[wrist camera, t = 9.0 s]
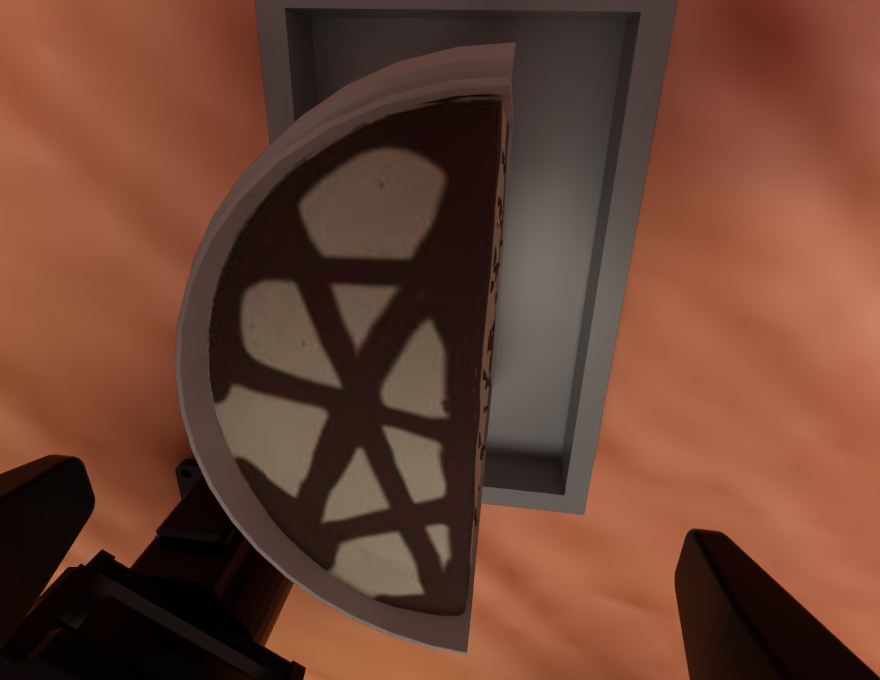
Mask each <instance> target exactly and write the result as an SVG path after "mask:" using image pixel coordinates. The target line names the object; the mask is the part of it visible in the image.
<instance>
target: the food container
mask: <svg viewBox="0 0 880 680" xmlns="http://www.w3.org/2000/svg"><path fill="white" fill-rule="evenodd" d="M515 46H516V42H512V43H500V44H487V45H475V46H463V47H455V48H451V49H447V50H443V51H439V52H435V53H431V54H427V55H423V56H419V57H415V58H411V59H407V60H403V61H399V62H397V63H395V64H392V65H390V66H388V67H386V68H383V69H381V70H379V71H377V72H375V73H372V74H370V75H368V76H366V77H363V78H361V79H359V80H357V81H355V82H352V83H350V84H348V85H346V86H344V87H343V88H342V89H340V90H339V91H337V92H336V93H334V94H333V95H331V96H330V97H328V98H327V99H325V100H324V101H323V102H321V103H320V104H318V105H317V106H315V107H314V108H312V109H311V110H309V111H308V112H306V113H305V114H304V115H302V116H301V117H300V118H299V119H298V120H297V121H296V122H295V123H293V124H292V125H291V126H290V127H289V128H288V129H287V130H286V131H285V132H284V133H283V134H282V135H281V136H280V137H279V138H278V139H277V140H276V141H275V142H274V143H273V144H272V145H271V146H270V147H269V148H268V149H267V150H266V151H265V152H264V153H263V154H262V155H261V156H260V157H259V158H258V159H257V160H256V161H255V162H254V163H253V164H252V165H250V166H249V167H248V168H247V169H246V170H245V171H244V172H243V173H242V175H241V176H240V178H239V179H238V180H237V182H236V183H235V185H234V186H233V188H232V189H231V191H230V192H229V193H228V195H227V196H226V198H225V199H224V201H223V202H222V204H221V205H220V206H219V208H218V209H217V211H216V212H215V214H214V215H213V217H212V219H211V221H210V224H209V226H208V228H207V230H206V233H205V235H204V237H203V239H202V242H201V244H200V246H199V248H198V251H197V253H196V255H195V257H194V259H193V263H192V267H191V272H190V276H189V278H188V280H187V284H186V288H185V293H184V297H183V301H182V306H181V310H180V314H179V318H178V323H177V333H176V354H175V375H176V383H177V391H178V398H179V406H180V412H181V416H182V419H183V423H184V426H185V429H186V433H187V436H188V439H189V443H190V446H191V450H192V452H193V454H194V456H195V458H196V461H197V463H198V465H199V467H200V469H201V471H202V473H203V475H204V477H205V480H206V482H207V484H208V486H209V488H210V489H211V491H212V492H213V494H214V495H215V497H216V499H217V500H218V502H219V503H220V505H221V506H222V508H223V509H224V511H225V512H226V514H227V515H228V517H229V518H230V520H231V521H232V522H233V524H234V525H235V526H236V527H237V528H238V529H239V530H240V532H241V533H242V534H243V535H244V536H245V537H246V539H247V540H248V541H249V542H250V543H251V544H252V546H253V547H254V548H255V549H256V550H257V551H258V552H259V553H260V554H261V555H262V556H263V557H264V558H266V559H267V560H268V561H269V562H270V563H271V564H272V565H273V566H274V567H275V568H277V569H278V570H279V571H280V572H281V573H282V574H283V575H284V576H285V577H287V578H288V579H289V580H291V581H292V582H293V583H295V584H296V585H298V586H299V587H301V588H302V589H303V590H305V591H306V592H308V593H309V594H310V595H312V596H313V597H315V598H316V599H317V600H319V601H320V602H322V603H324V604H326V605H328V606H329V607H331V608H333V609H335V610H337V611H338V612H340V613H342V614H344V615H345V616H347V617H349V618H351V619H353V620H355V621H357V622H359V623H362V624H364V625H366V626H369V627H371V628H373V629H376V630H378V631H380V632H383V633H385V634H387V635H390V636H392V637H396V638H399V639H402V640H406V641H409V642H412V643H416V644H419V645H422V646H425V647H429V648H433V649H438V650H443V651H448V652H453V653H457V654H462V655H467V647H468V637H469V628H470V618H471V608H472V598H473V584H474V574H475V563H476V552H477V542H478V531H479V521H480V510H481V500H482V489H483V478H484V468H485V457H486V447H487V436H488V425H489V415H490V404H491V394H492V382H493V370H494V358H495V345H496V333H497V320H498V308H499V296H500V283H501V271H502V258H503V246H504V233H505V221H506V209H507V196H508V184H509V171H510V159H511V147H512V134H513V122H514V116H513V97H512V69H513V63H514V56H515Z"/></svg>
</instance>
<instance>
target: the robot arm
mask: <svg viewBox="0 0 880 680" xmlns="http://www.w3.org/2000/svg"><path fill="white" fill-rule="evenodd" d="M189 471H190V472H189ZM176 476H177V481H178V485H179V489H180V494H181V498H182V500H181V501H180V502H179V503H178V504H177V506H176V507H175V508H174V509H173V510H172V512H171V513H170V514H169V515H168V517H167V518H166V519H165V520H164V521H163V523H162V524H161V525H160V526H159V527H158V529H157V531H156V533H157V536H156V537H155V538H154V539H153V541H152V542H151V543H150V544H149V546H148V547H147V548H146V549H145V550H144V552H143V553H142V554H141V555H140V557H139V558H138V559H137V560H136V561H135V563H134V564H133V565H132V566H131V568H128V567H126V566H124V565H123V564H121V563H119V562H118V561H116V560H114V559H115V556H113V555H111V554H110V553H108V552H106V551H104V550H103V549H102V550H101V551H100V552H99V553H98V554H97V555H96V556H95V557H94V558H93V559H92V560H91V561H90V562H89V563H88V564H87V565H86V566H84V565H83V564H80V565H79V566H78V567H68V568H67V569H66V570H65V571H64V572H63V573H62V574H61V575H60V576H59V577H58V578H57V579H56V580H55V582H54V583H53V584H52V585H51V586H50V587H49V588H48V589H47V590H46V591H45V592H44V593H43V594H42V595H41V593H42V592H43V590H44V589H45V587H46V585H47V584H48V582H49V581H50V579H51V577H52V576H53V574H54V573H55V571H56V570H57V568H58V566H59V565H60V563H61V562H62V560H63V559H64V557H65V555H66V554H67V552H68V551H69V549H70V547H71V546H72V544H73V543H74V541H75V540H76V538H77V536H78V535H79V533H80V532H81V530H82V528H83V527H84V525H85V524H86V522H87V521H88V519H89V517H90V516H91V514H92V512H93V509H94V505H95V496H94V493H93V490H92V487H91V484H90V481H89V478H88V475H87V471H86V468H85V465H84V463H83V462H82V461H81V460H80V459H79V458H77V457H74V456H65V455H48V456H45V457H43V458H40V459H38V460H35V461H32V462H30V463H27V464H25V465H22V466H20V467H17V468H15V469H12V470H9V471H7V472H4V473H2V474H0V680H303V678H304V674H305V669H306V668H305V667H304V666H302V665H300V664H299V663H297V662H295V661H292V662H290V661H288V660H286V659H285V658H283V657H281V656H279V655H278V654H276V653H274V652H272V651H271V650H269V649H267V648H266V647H265V645H266V642H267V640H268V638H269V636H270V634H271V632H272V629H273V627H274V625H275V623H276V621H277V619H278V616H279V614H280V612H281V610H282V608H283V605H284V603H285V601H286V599H287V597H288V595H289V592H290V590H291V588H292V586H293V584H294V583H293V582H292V581H291V580H289V579H288V578H287V577H285V576H284V575H283V574H282V573H281V572H280V571H279V570H278V569H277V568H275V567H274V566H273V565H272V564H271V563H270V562H269V561H268V560H267V559H266V558H264V557H263V556H262V555H261V554H260V553H259V552H258V551H257V550H256V549H255V548H254V547H253V546H252V544H251V543H250V542H249V541H248V540H247V539H246V537H245V536H244V535H243V534H242V533H241V532H240V530H239V529H238V528H237V527H236V526H235V525H234V524H233V522H232V521H231V520H230V518H229V517H228V515H227V514H226V512H225V511H224V509H223V508H222V506H221V505H220V503H219V502H218V500H217V499H216V497H215V495H214V494H213V492H212V491H211V489H210V488H209V486H208V484H207V482H206V480H205V477H204V475H203V473H202V471H201V469H200V467H199V465H198V463H197V461H196V460H191V459H185V460H183V461H182V462H181V463H180V464H179V465H178V466H177V468H176ZM675 592H676V598H677V604H678V610H679V616H680V623H681V629H682V635H683V641H684V647H685V653H686V659H687V665H688V672H689V678H690V680H880V677H879V676H878V675H877V674H876V673H875V672H873V671H872V670H871V669H870V668H869V667H868V666H867V665H866V664H865V663H864V662H863V661H862V660H860V659H859V658H858V657H857V656H856V655H855V654H854V653H853V652H852V651H851V650H850V649H849V648H848V647H846V646H845V645H844V644H843V643H842V642H841V641H840V640H839V639H838V638H837V637H836V636H835V635H834V634H832V633H831V632H830V631H829V630H828V629H827V628H826V627H825V626H824V625H823V624H822V623H821V622H819V621H818V620H817V619H816V618H815V617H814V616H813V615H812V614H811V613H810V612H809V611H808V610H807V609H805V608H804V607H803V606H802V605H801V604H800V603H799V602H798V601H797V600H796V599H795V598H794V597H793V596H791V595H790V594H789V593H788V592H787V591H786V590H785V589H784V588H783V587H782V586H781V585H780V584H778V583H777V582H776V581H775V580H774V579H773V578H772V577H771V576H770V575H769V574H768V573H767V572H766V571H764V570H763V569H762V568H761V567H760V566H759V565H758V564H757V563H756V562H755V561H754V560H753V559H752V558H750V557H749V556H748V555H747V554H746V553H745V552H744V551H743V550H742V549H741V548H740V547H739V546H737V545H736V544H735V543H734V542H733V541H732V540H731V539H730V538H729V537H728V536H726V535H725V534H724V533H722V532H719V531H712V530H704V529H691V530H689V532H688V533H687V535H686V537H685V541H684V544H683V547H682V551H681V554H680V557H679V561H678V564H677V567H676V571H675ZM40 595H41V596H40ZM39 596H40V597H39Z"/></svg>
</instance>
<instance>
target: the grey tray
mask: <svg viewBox="0 0 880 680" xmlns="http://www.w3.org/2000/svg"><path fill="white" fill-rule="evenodd" d="M677 1H678V0H255V7H256V17H257V26H258V36H259V45H260V55H261V64H262V74H263V83H264V93H265V102H266V112H267V122H268V131H269V141H270V146H271V145H272V144H273V143H274V142H275V141H276V140H277V139H278V138H279V137H280V136H281V135H282V134H283V133H284V132H285V131H286V130H287V129H288V128H289V127H290V126H291V125H292V124H293V123H295V122H296V121H297V120H298V119H299V118H300V117H301V116H302V115H304V114H305V113H306V112H308V111H309V110H311V109H312V108H314V107H315V106H317V105H318V104H320V103H321V102H323V101H324V100H325V99H327V98H328V97H330V96H331V95H333V94H334V93H336V92H337V91H339V90H340V89H342V88H343V87H344V86H346V85H348V84H350V83H352V82H355V81H357V80H359V79H361V78H363V77H366V76H368V75H370V74H372V73H375V72H377V71H379V70H381V69H383V68H386V67H388V66H390V65H392V64H395V63H397V62H399V61H403V60H407V59H411V58H415V57H419V56H423V55H427V54H431V53H435V52H439V51H443V50H447V49H451V48H455V47H463V46H475V45H487V44H500V43H512V42H516V46H515V56H514V63H513V69H512V97H513V116H514V122H513V134H512V147H511V159H510V171H509V184H508V196H507V209H506V221H505V233H504V246H503V258H502V271H501V283H500V296H499V308H498V320H497V333H496V345H495V358H494V370H493V382H492V394H491V404H490V415H489V425H488V436H487V447H486V457H485V468H484V478H483V489H482V500H481V503H484V504H492V505H501V506H510V507H519V508H528V509H536V510H545V511H554V512H563V513H571V514H580V515H584V512H585V507H586V501H587V496H588V490H589V485H590V479H591V474H592V468H593V463H594V457H595V452H596V446H597V441H598V435H599V430H600V424H601V419H602V413H603V408H604V402H605V397H606V391H607V386H608V380H609V375H610V369H611V364H612V358H613V353H614V347H615V342H616V336H617V331H618V325H619V320H620V315H621V309H622V304H623V298H624V293H625V287H626V282H627V276H628V271H629V265H630V260H631V254H632V249H633V243H634V238H635V232H636V227H637V221H638V216H639V210H640V205H641V199H642V194H643V188H644V183H645V177H646V172H647V166H648V161H649V155H650V150H651V144H652V139H653V133H654V128H655V122H656V117H657V111H658V106H659V100H660V95H661V89H662V84H663V78H664V73H665V67H666V62H667V56H668V51H669V45H670V40H671V34H672V29H673V23H674V18H675V12H676V7H677Z"/></svg>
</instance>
